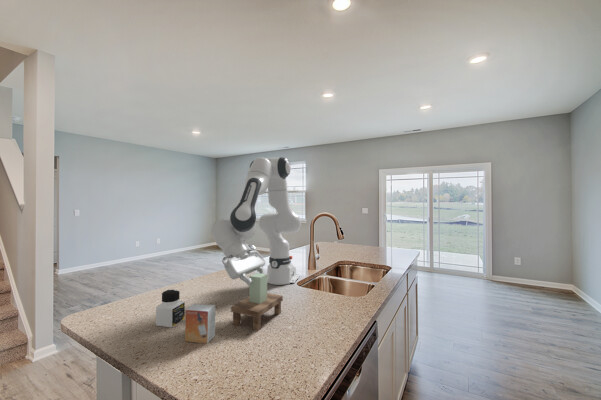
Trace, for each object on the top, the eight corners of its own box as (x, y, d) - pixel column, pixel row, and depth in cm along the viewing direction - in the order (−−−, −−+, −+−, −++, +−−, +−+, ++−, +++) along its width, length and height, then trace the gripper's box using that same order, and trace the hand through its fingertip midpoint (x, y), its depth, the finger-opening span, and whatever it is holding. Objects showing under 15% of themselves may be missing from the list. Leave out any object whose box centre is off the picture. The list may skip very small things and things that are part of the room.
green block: (256, 297, 108) (256, 272, 108) (267, 299, 106) (267, 274, 106) (249, 301, 104) (249, 276, 104) (260, 303, 101) (260, 277, 102)
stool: (258, 307, 115) (258, 291, 115) (282, 312, 110) (282, 295, 110) (230, 325, 99) (231, 306, 99) (258, 331, 94) (258, 312, 94)
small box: (184, 342, 87) (184, 309, 87) (193, 333, 93) (193, 303, 93) (207, 344, 86) (207, 311, 86) (215, 335, 92) (215, 304, 92)
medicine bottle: (172, 327, 97) (172, 294, 97) (155, 325, 98) (155, 293, 98) (184, 319, 104) (185, 288, 104) (168, 317, 105) (169, 287, 105)
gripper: (224, 253, 99) (246, 283, 95) (256, 244, 117) (275, 269, 113) (215, 263, 101) (236, 293, 96) (247, 254, 119) (266, 278, 115)
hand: (257, 280), depth 105 cm, fingers open, 8 cm apart
